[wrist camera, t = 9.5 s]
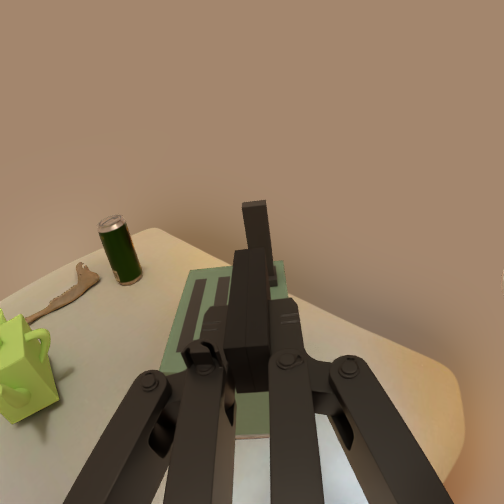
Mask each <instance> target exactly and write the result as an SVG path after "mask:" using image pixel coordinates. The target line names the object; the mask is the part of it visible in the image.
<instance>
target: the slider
mask: <svg viewBox="0 0 504 504" xmlns="http://www.w3.org/2000/svg"><path fill="white" fill-rule="evenodd" d="M242 212H243V219H244V225H245V231H246V238H247V244H248V249H253V248H261V247H265V254H266V261H267V269H268V276H269V284H270V287H274V286H278V282H277V272H276V266H274V265H273V256H272V248H271V239H270V231H269V223H268V215H267V207H266V200H261V201H252V202H244V203H242Z"/></svg>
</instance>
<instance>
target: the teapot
mask: <svg viewBox="0 0 504 504" xmlns="http://www.w3.org/2000/svg"><path fill="white" fill-rule="evenodd" d="M38 339H40V340H41V344H40V342H39V341H38ZM49 347H50V333H49V331H48V330H46V329H36V330H33V331H32V330H31V328H30V327H29V325H28V324H27V322H26V320H25V319H24V317H23V315H22V314H20V315H18V316H16V317H15V318H13V319H11V320H9V321H6V319H5V317H4V315H3V311H2V309H1V308H0V413H1V414H2V415H3V416H4V417H5V418H6V419H7V420H8V421H9V422H10V423H11V424H14V423H16V422H18V421H20V420H22V419H24V418H26V417H28V416H30V415H32V414H34V413H35V412H37V411H39V410H41V409H43V408H45V407H47V406H49V405H51V404H53V403H54V402H56V401H58V400H59V397H58V393H57V390H56V386H55V382H54V379H53V375H52V371H51V367H50V363H49V358H48V354H47V353H48V350H49Z"/></svg>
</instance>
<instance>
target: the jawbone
mask: <svg viewBox="0 0 504 504" xmlns="http://www.w3.org/2000/svg"><path fill="white" fill-rule="evenodd" d="M83 264H84V263H82V262H80V263H78V264H77V265H76V271H77V274H78V284H77V285H73V287H71V289H69V291H68V290H67V291H66V292H64V293H63V294H62V295H61V296H57V298H54V299H53V300H52V301H50V305H48V307H46V308H45V309H43V310H41V311H39V312H38V313H35V314H33V315H31V316H29V317H26V318H25V320H26V322H27V324H28V323H30V322H32V321H35V320H36V319H37V318H39V317H40V316H43V315H45V314H48V313H50V312H52V311H54V310H56V309H58V308H60V307H62V306H65V305H66V304H68V303H71V302H73V301H74V300H76V299H77V298H78V297H80V296H81V295H82V294H83V293H84V292H85V291H86V290H87V289H88V288H89V287H90V286H92V285H93V284H95V283H96V282H98V280H99V275H98V274H97V273H94V272H91V271H89V269H88V267H87V266H86V265H85V266H84V268H82V265H83Z"/></svg>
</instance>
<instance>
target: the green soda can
mask: <svg viewBox="0 0 504 504" xmlns="http://www.w3.org/2000/svg"><path fill="white" fill-rule="evenodd" d="M97 226H98V232H99V236H100V239H101V241H102V244H103V247H104V249H105V252H106V255H107V257H108V260H109V263H110V265H111V268H112V270H113V273H114V275H115V278H116V280H117V281H118V282H119V283H120V284H121V285H130V284H133V283H135V282H137V281H138V280H139V279H140V278H141V276H142V269H141V266H140V263H139V260H138V257H137V254H136V252H135V249H134V246H133V243H132V240H131V236H130V233H129V231H128V227H127V224H126V221H125V219H124V218H123V216H122V215H113V216H110V217H107V218H105V219H103V220H101V221H100V222H99V223H98V224H97Z"/></svg>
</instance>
